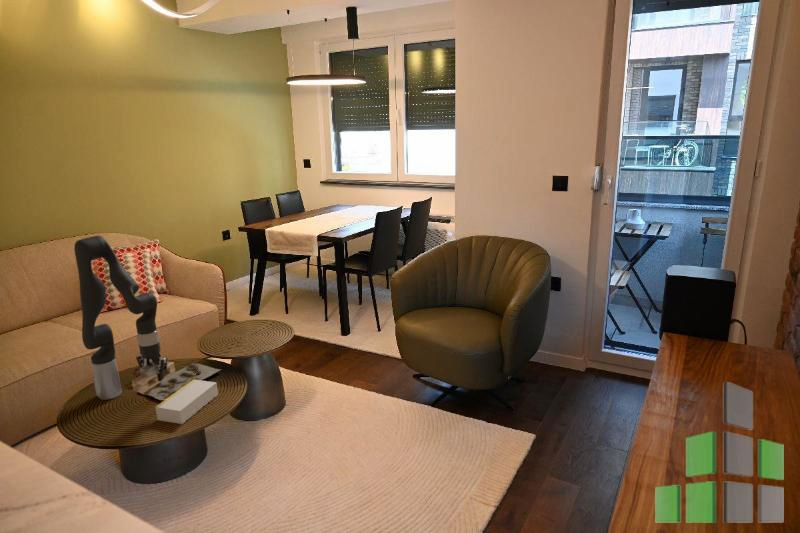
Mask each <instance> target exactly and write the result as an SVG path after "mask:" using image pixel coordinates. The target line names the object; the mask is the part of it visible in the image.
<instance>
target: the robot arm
mask: <svg viewBox="0 0 800 533" xmlns="http://www.w3.org/2000/svg"><path fill="white" fill-rule="evenodd" d="M73 251H74V256H75V261H76V266H77V271H78V279H79V280H78V281H79V293H80V294H79V295H80V304H81V314H82V315H81V316H82V318H81V320H82V321H81V325H82V326H81V337H82V338H81V339H82V342H83V345H84V347H85V349H87V350H95V349H97V348H98V350H96V352H94V353H93V354H92V355H91V357H90V360H91V365H92V371H93V375H94V377H93V383H94V388H95V394H96V398H97V397H98V399H100V400H102V401H103V400H105V401H106V400H112V399H115V398H118V397H119V396H120V395H121V394H122V393H123V390H122V385H121V384H122V383H121V379H120V374H119V369H118V362H117V360H116V348H115V341H114V340H115V339H114V333H113V330H112V328H111V326H110V325H109V324H107V323H103V324H99V325H96V322H97V318H98V317H99V316H100V314H101V312H102V311H103V308H104V307H105V305H106V302H107V289H106V288H107V287H106V285H105V283H104V282H103V281H102V280H101V279H100V278H99V277H98V276H97V275H96V274H95V272H94V271H93V268H92V261H95V260H96V261H97V260H98V259H103V260H105V261H106V263H107V264H108V269H109V272H108V273H109V274H108V276H109V280H110V282H111V284H112V285H113V287H115V289H116V290H117V291H118V293H120V294H121V296H122V299H123V300H124V303H125V306H126V307H127V310H128V311H129V312H130V313H132V314H133V315H140V314H142V315H141V316H139V317H138V318H137V319H136V320H135V328H136V333H137V343H138V348H139V353H140V354H139V355H136V357H135V358H136V359H135V360H136V362H137V364H138V368H142V367H144V366H147V364H148V365H152V366H153V367H154V369H156V371H157V377H158V381H162V380H163V379H164V376H163V372H164V371H165V370H167V362H168V357H167V356H166V357H162V355H161V354H160V353H161V344H160V338H159V333H158V330H157V324H156V316H157V311H158V301H157V298H156V296H155V294H153V293H152V292H144V293H141V294H138V295H135V294H137V292H138V291H139V290H140V286H139V284H138V282H137V281H136V280H135V279H134V278H133V276H131V274H129V273H128V271H127V270H126V269H125V267H124V266H123V264H122V263H121V261H120V259H119V257H118V256H117V255H116V253H115V251H114V250H113V248H112V246H111V245H110V244H109V242H108V241H107V240H106V239H105V237H103V236H102V235H94V236H89V237H86V238H81V239H78V240H76V241H75V243H74V250H73ZM95 325H96V326H95ZM158 363H159V364H158ZM157 364H158V365H157ZM156 365H157V366H156ZM158 367H159V368H160V370H159V368H158Z"/></svg>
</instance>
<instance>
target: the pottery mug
mask: <svg viewBox="0 0 800 533" xmlns="http://www.w3.org/2000/svg"><path fill="white" fill-rule="evenodd" d="M132 375H133V376H135V379H136V378H138V377H139V376H141V372H140V367H136V368H134V372H133V373H132Z"/></svg>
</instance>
